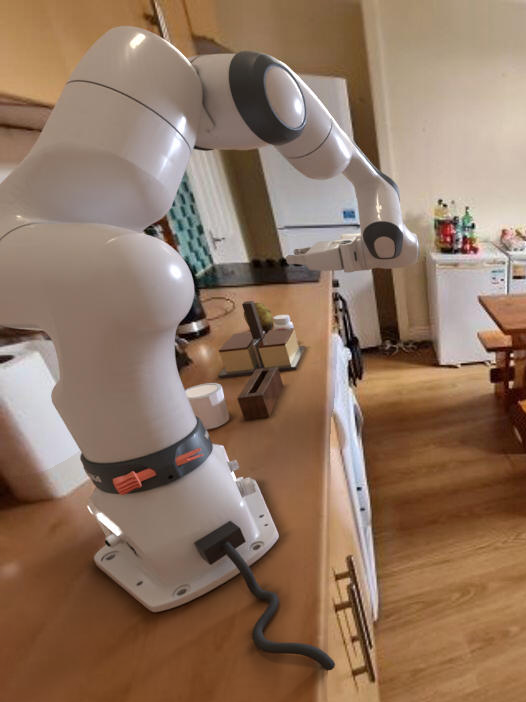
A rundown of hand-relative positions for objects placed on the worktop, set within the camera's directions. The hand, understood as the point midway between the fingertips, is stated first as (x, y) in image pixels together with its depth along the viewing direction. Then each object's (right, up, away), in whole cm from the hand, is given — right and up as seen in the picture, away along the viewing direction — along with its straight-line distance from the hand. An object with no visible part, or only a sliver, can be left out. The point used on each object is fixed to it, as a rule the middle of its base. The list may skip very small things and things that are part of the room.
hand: (290, 256), depth 99 cm
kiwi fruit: (-26, -14, +32) cm, 43 cm away
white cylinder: (-6, -38, -17) cm, 42 cm away
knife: (-11, -24, +9) cm, 28 cm away
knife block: (0, -34, -10) cm, 36 cm away
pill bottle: (-11, -19, +20) cm, 30 cm away
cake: (-11, -25, +9) cm, 29 cm away
